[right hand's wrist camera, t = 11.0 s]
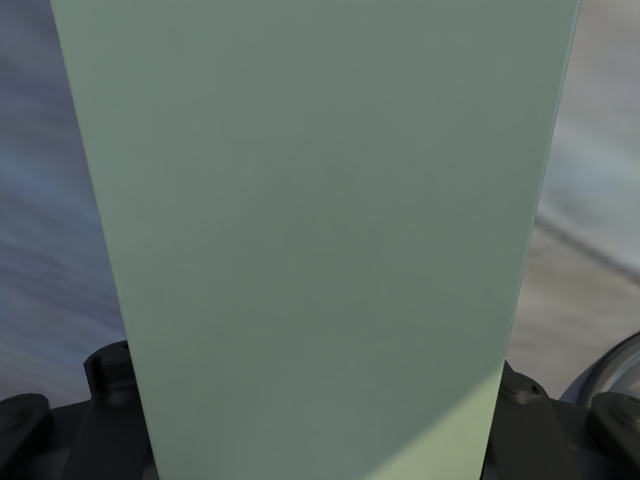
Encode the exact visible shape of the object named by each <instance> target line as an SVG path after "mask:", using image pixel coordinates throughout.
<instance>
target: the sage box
mask: <svg viewBox="0 0 640 480" xmlns="http://www.w3.org/2000/svg"><path fill="white" fill-rule="evenodd" d="M50 3H51V7H52V11H53V16H54V20H55V25H56V29H57V33H58V38H59V42H60V46H61V51H62V55H63V60H64V64H65V68H66V73H67V77H68V82H69V86H70V90H71V95H72V99H73V104H74V108H75V112H76V117H77V121H78V126H79V130H80V134H81V139H82V143H83V148H84V152H85V156H86V161H87V165H88V170H89V174H90V178H91V183H92V187H93V192H94V196H95V200H96V205H97V209H98V214H99V218H100V222H101V227H102V231H103V236H104V240H105V244H106V249H107V253H108V258H109V262H110V266H111V271H112V275H113V280H114V284H115V288H116V293H117V297H118V302H119V306H120V310H121V315H122V319H123V324H124V328H125V332H126V337H127V341H128V346H129V350H130V354H131V359H132V363H133V367H134V372H135V376H136V381H137V385H138V389H139V394H140V398H141V403H142V407H143V411H144V416H145V420H146V425H147V429H148V433H149V438H150V442H151V447H152V451H153V455H154V460H155V464H156V469H157V473H158V477H159V480H480V475H481V470H482V466H483V461H484V456H485V451H486V447H487V442H488V437H489V433H490V428H491V423H492V418H493V414H494V409H495V404H496V400H497V395H498V390H499V386H500V381H501V376H502V371H503V367H504V362H505V357H506V353H507V348H508V343H509V338H510V334H511V329H512V324H513V320H514V315H515V310H516V305H517V301H518V296H519V291H520V287H521V282H522V277H523V272H524V268H525V263H526V258H527V254H528V249H529V244H530V240H531V235H532V230H533V225H534V221H535V216H536V211H537V207H538V202H539V197H540V192H541V188H542V183H543V178H544V174H545V169H546V164H547V159H548V155H549V150H550V145H551V141H552V136H553V131H554V126H555V122H556V117H557V112H558V108H559V103H560V98H561V93H562V89H563V84H564V79H565V75H566V70H567V65H568V61H569V56H570V51H571V46H572V42H573V37H574V32H575V28H576V23H577V18H578V13H579V9H580V4H581V0H50Z"/></svg>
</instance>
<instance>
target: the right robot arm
mask: <svg viewBox="0 0 640 480" xmlns="http://www.w3.org/2000/svg"><path fill="white" fill-rule="evenodd" d="M83 365H84V368H85V372H86V376H87V380H88V384H89V387H90V391H91V395H92V397H91V400H87V401H84V402H81V403H76V404H72V405H67V406H63V407H58V408H54V409H51V407H50V404H49V401H48V399H47V398H46V397H44V396H43V395H41V394H34V393H29V394H22V395H16V396H13V397H11V398H7V399H5V400H2V401H0V480H159V477H158V473H157V469H156V464H155V460H154V455H153V451H152V447H151V442H150V438H149V433H148V429H147V425H146V420H145V416H144V411H143V407H142V403H141V398H140V394H139V389H138V385H137V381H136V376H135V372H134V367H133V363H132V359H131V354H130V350H129V346H128V341H127V340H125V341H121V342H116V343H112V344H110V345H108V346H105V347H103V348H101V349H99V350H97V351H96V352H95V353H93V354H92V355H90V356H89V357H88V359H87V360H86V361H85V363H84V364H83ZM480 480H640V334H639V335H637V336H635V337H634V338H632V339H630V340H629V341H627V342H626V343H624V344H623V345H622V346H620V347H619V348H618V349H616V350H615V351H614V352H613V353H611V354H610V355H609V356H608V357H607V358H606V359H605V360H604V361H603V362H602V363H601V364H600V365H599V366H598V367H597V369H596V370H595V371H594V372H593V374H592V375H591V376H590V378H589V380H588V381H587V383H586V385H585V387H584V389H583V391H582V393H581V396H580V398H579V402H578V405H575V404H571V403H566V402H562V401H558V400H555V399H551V398H549V396H548V395H547V393H546V392H545V390H544V389H543V387H542V386H540V385H539V384H538V383H537V382H535V381H534V380H533V379H531V378H529V377H527V376H525V375H523V374H521V373H517V372H514V371H513V370H512V368H511V367H510V365H509V364H508V362H507V361H506V360H505V362H504V367H503V371H502V376H501V381H500V386H499V390H498V395H497V400H496V404H495V409H494V414H493V418H492V423H491V428H490V433H489V437H488V442H487V447H486V451H485V456H484V461H483V466H482V470H481V475H480Z"/></svg>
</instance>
